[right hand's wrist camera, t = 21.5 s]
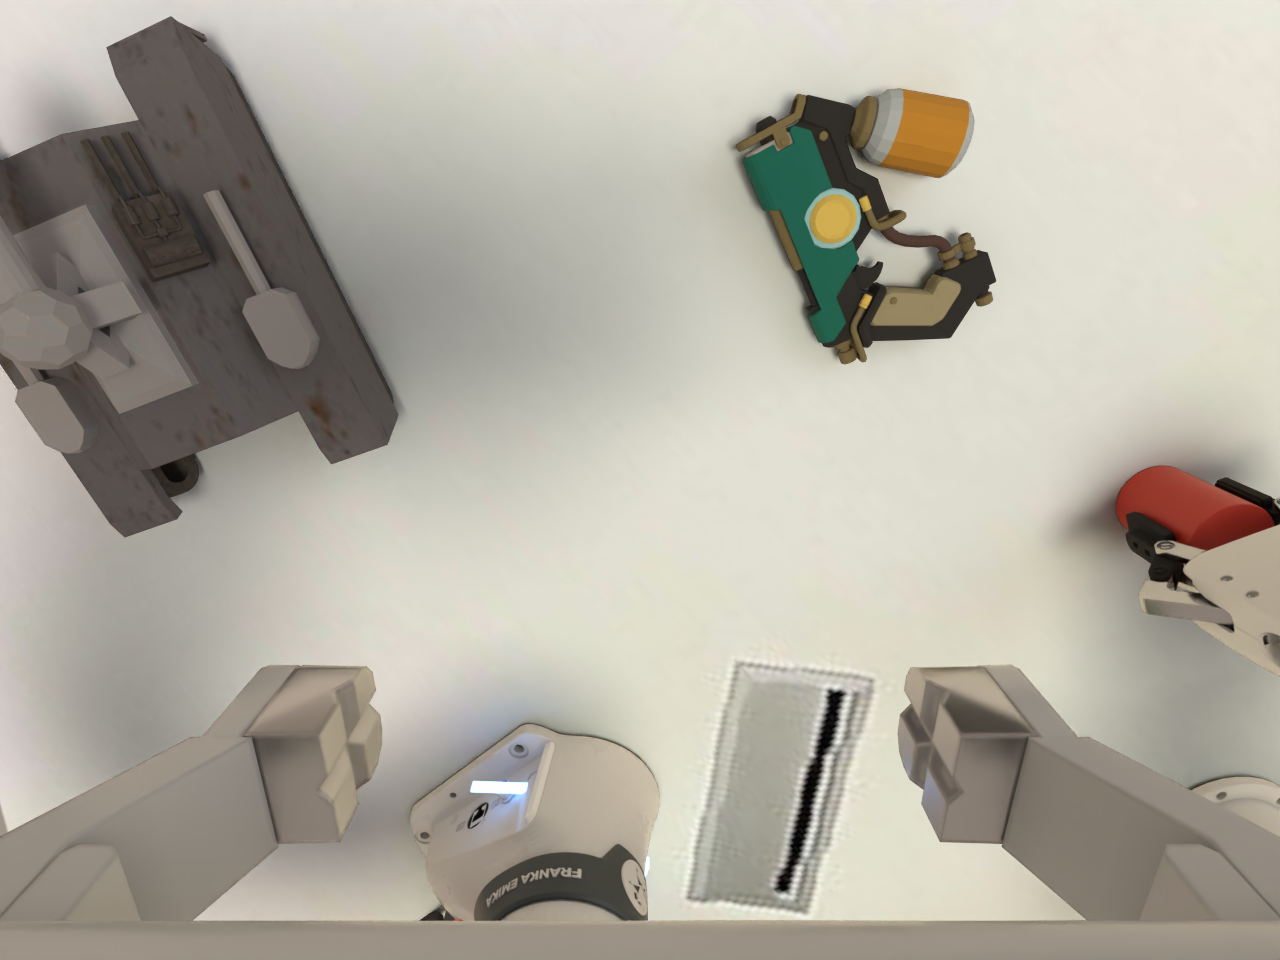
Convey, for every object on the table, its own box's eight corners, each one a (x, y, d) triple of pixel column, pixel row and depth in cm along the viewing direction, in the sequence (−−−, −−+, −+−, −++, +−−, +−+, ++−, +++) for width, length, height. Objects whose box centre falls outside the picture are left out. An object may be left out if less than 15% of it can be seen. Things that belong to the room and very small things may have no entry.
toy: (411, 423, 50) (322, 503, 36) (171, 510, 52) (-2, 617, 38) (221, 37, 41) (7, -57, 27) (-55, 162, 44) (-383, 134, 30)
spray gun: (978, 328, 48) (763, 369, 50) (977, 54, 41) (728, 112, 43) (1006, 342, 44) (772, 387, 46) (1010, 43, 38) (735, 107, 39)
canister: (1136, 546, 53) (1211, 595, 47) (1102, 497, 52) (1173, 539, 45) (1203, 502, 52) (1290, 545, 45) (1169, 450, 51) (1253, 487, 44)
